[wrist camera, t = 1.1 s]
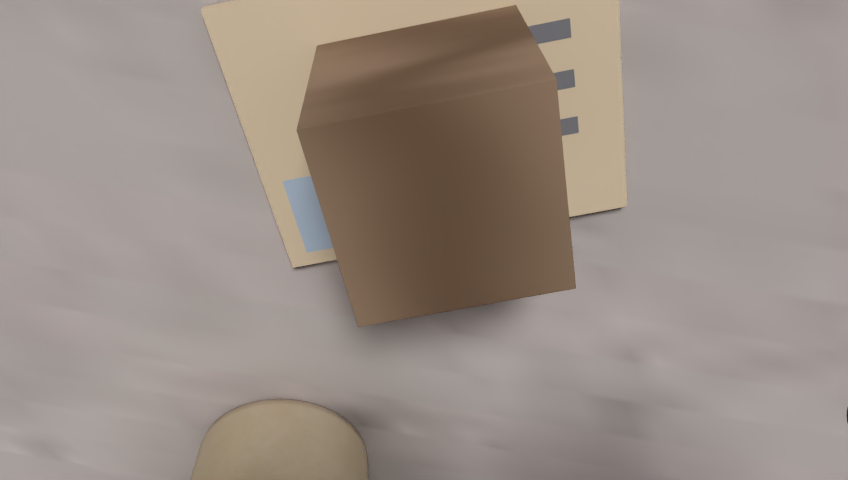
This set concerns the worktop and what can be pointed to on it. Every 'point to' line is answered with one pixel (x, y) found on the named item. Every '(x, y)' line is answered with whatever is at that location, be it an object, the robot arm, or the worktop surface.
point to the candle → (281, 444)
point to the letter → (393, 9)
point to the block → (439, 166)
